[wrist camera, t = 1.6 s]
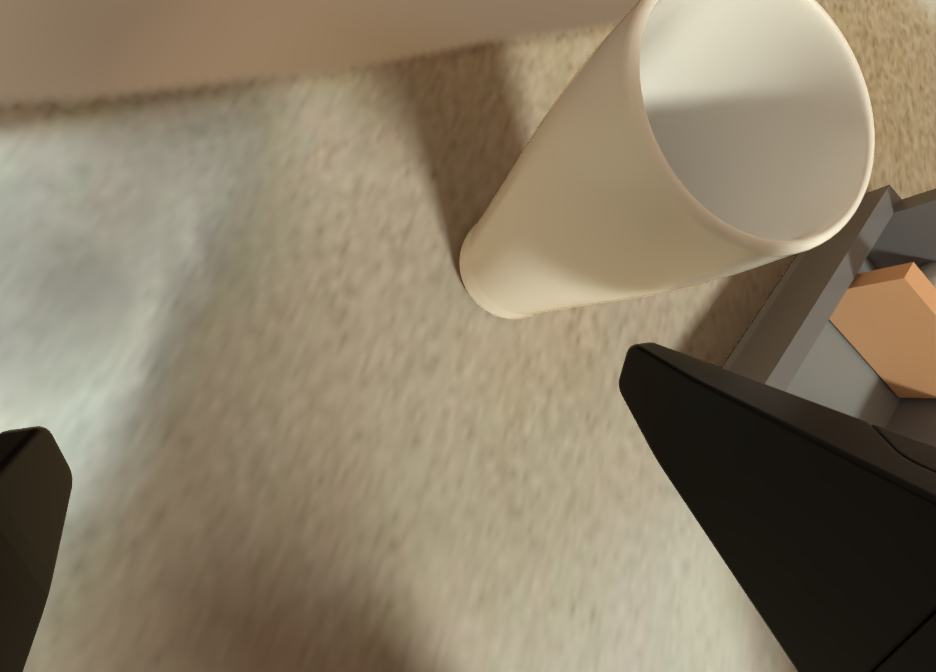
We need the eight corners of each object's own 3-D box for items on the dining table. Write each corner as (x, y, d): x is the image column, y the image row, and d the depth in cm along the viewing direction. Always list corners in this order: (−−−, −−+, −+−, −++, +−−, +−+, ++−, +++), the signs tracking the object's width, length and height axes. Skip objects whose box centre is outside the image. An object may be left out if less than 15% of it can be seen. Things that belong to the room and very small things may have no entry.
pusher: (899, 397, 30) (1006, 399, 25) (808, 296, 29) (904, 278, 24) (906, 383, 31) (1014, 382, 26) (817, 282, 29) (913, 261, 24)
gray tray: (824, 560, 28) (941, 600, 23) (686, 420, 26) (778, 429, 21) (939, 336, 33) (1057, 325, 28) (829, 206, 31) (933, 169, 26)
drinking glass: (484, 178, 25) (708, -116, 10) (587, 254, 26) (913, 86, 11) (415, 285, 23) (566, 115, 9) (528, 361, 24) (823, 320, 10)
